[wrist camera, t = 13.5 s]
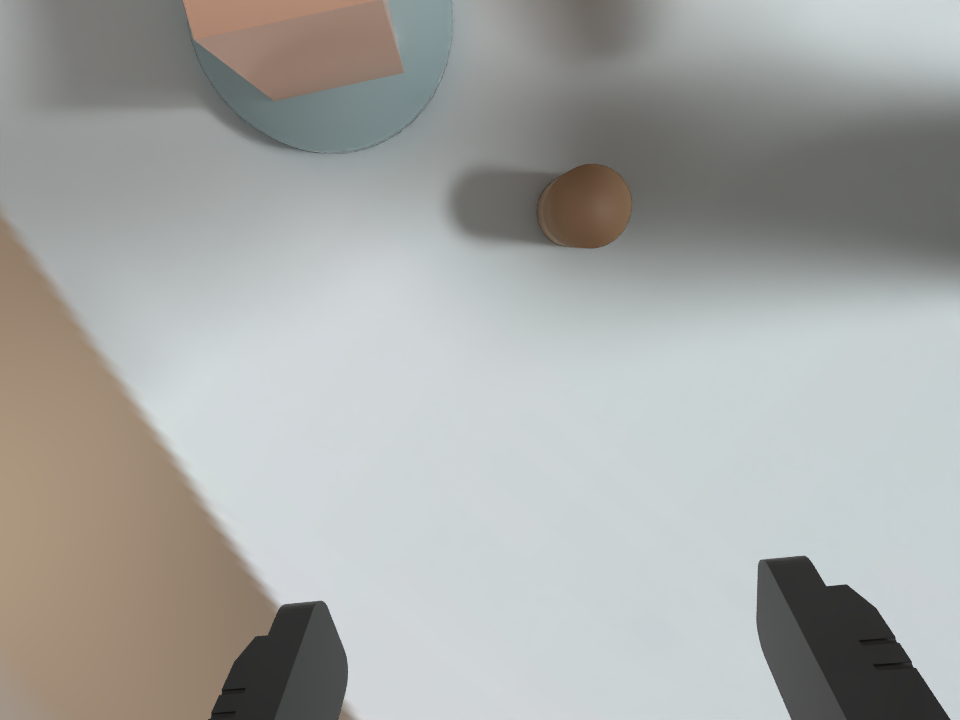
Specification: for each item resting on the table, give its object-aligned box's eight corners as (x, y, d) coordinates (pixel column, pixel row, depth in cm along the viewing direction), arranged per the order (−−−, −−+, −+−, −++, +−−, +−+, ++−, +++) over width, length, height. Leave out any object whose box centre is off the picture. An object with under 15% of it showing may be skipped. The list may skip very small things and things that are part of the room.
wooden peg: (600, 168, 31) (625, 156, 27) (612, 239, 32) (637, 239, 27) (531, 182, 31) (543, 172, 27) (543, 253, 32) (558, 255, 27)
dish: (421, -147, 28) (420, -164, 27) (475, 126, 30) (476, 121, 29) (163, -93, 28) (150, -107, 27) (237, 176, 30) (228, 173, 29)
